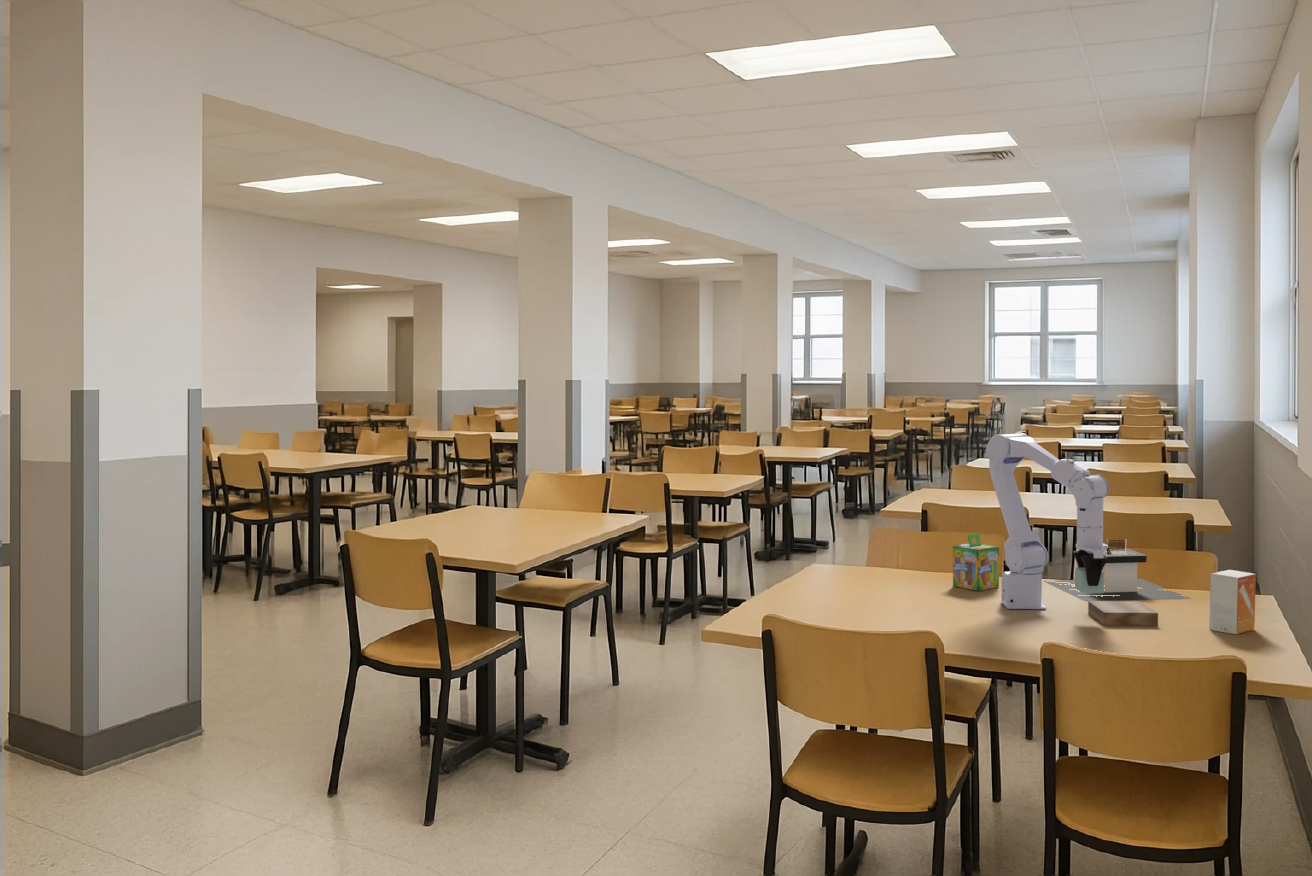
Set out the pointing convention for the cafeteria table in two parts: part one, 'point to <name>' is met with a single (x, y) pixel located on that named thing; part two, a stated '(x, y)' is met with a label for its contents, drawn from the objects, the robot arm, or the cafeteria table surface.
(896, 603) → the cafeteria table surface
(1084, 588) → the teal cube
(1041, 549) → the robot arm
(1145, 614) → the walnut base
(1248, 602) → the small box
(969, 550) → the chalk box
